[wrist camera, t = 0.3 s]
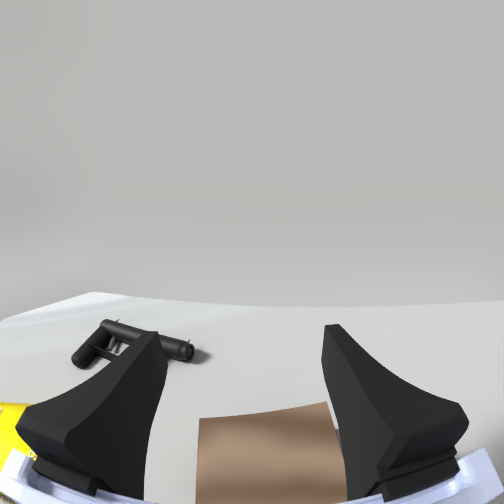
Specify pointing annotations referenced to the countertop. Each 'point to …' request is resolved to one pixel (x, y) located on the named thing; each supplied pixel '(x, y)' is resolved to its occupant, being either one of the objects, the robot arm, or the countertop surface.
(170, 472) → the countertop surface
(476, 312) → the countertop surface
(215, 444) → the low wooden table
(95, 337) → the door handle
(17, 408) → the yellow case
